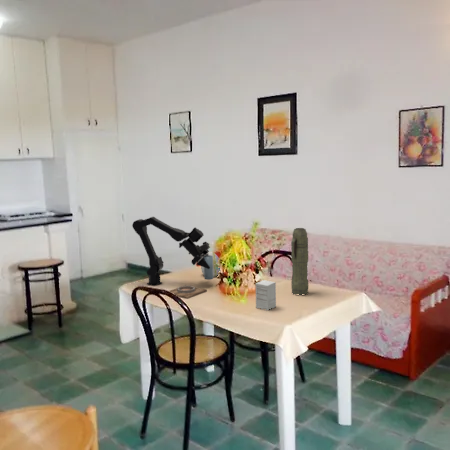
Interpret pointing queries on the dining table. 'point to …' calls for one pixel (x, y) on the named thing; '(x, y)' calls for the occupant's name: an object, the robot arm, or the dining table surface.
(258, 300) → the grey drawer cabinet
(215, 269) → the decorative egg
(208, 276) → the sleeve
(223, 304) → the dining table surface
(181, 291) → the collar board
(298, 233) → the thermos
